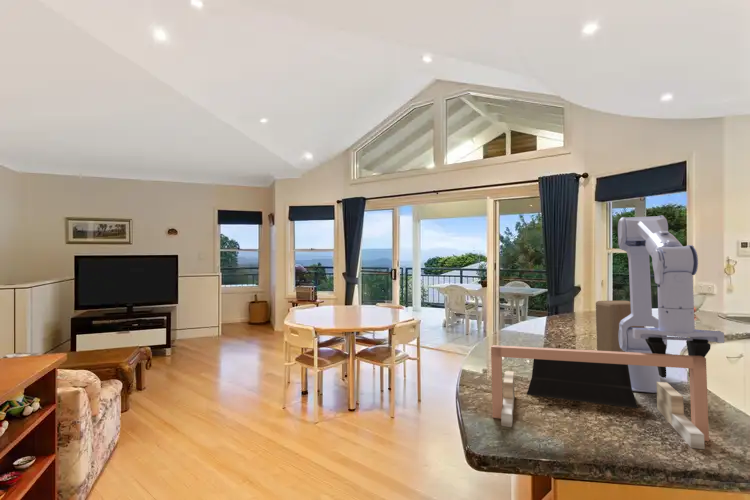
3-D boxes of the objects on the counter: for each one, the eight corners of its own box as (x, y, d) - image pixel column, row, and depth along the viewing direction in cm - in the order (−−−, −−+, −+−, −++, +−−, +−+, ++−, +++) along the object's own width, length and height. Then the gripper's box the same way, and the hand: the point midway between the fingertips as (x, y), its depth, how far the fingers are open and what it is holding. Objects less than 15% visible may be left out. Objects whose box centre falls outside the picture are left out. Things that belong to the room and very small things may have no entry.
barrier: (526, 395, 103) (525, 355, 104) (530, 386, 111) (529, 348, 111) (638, 409, 93) (636, 364, 93) (634, 398, 100) (633, 356, 101)
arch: (493, 414, 91) (491, 345, 91) (704, 436, 78) (701, 355, 78) (492, 417, 89) (491, 346, 89) (709, 441, 76) (706, 358, 76)
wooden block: (647, 371, 123) (645, 303, 123) (613, 371, 123) (611, 303, 123) (627, 362, 133) (625, 300, 133) (596, 363, 133) (594, 300, 133)
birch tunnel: (506, 395, 103) (505, 370, 103) (668, 410, 91) (667, 382, 92) (501, 425, 84) (500, 396, 84) (704, 449, 73) (703, 414, 73)
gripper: (637, 308, 80) (639, 379, 80) (730, 311, 75) (733, 386, 75) (629, 305, 87) (631, 370, 87) (714, 306, 82) (716, 376, 81)
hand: (677, 377), depth 81 cm, fingers open, 4 cm apart
